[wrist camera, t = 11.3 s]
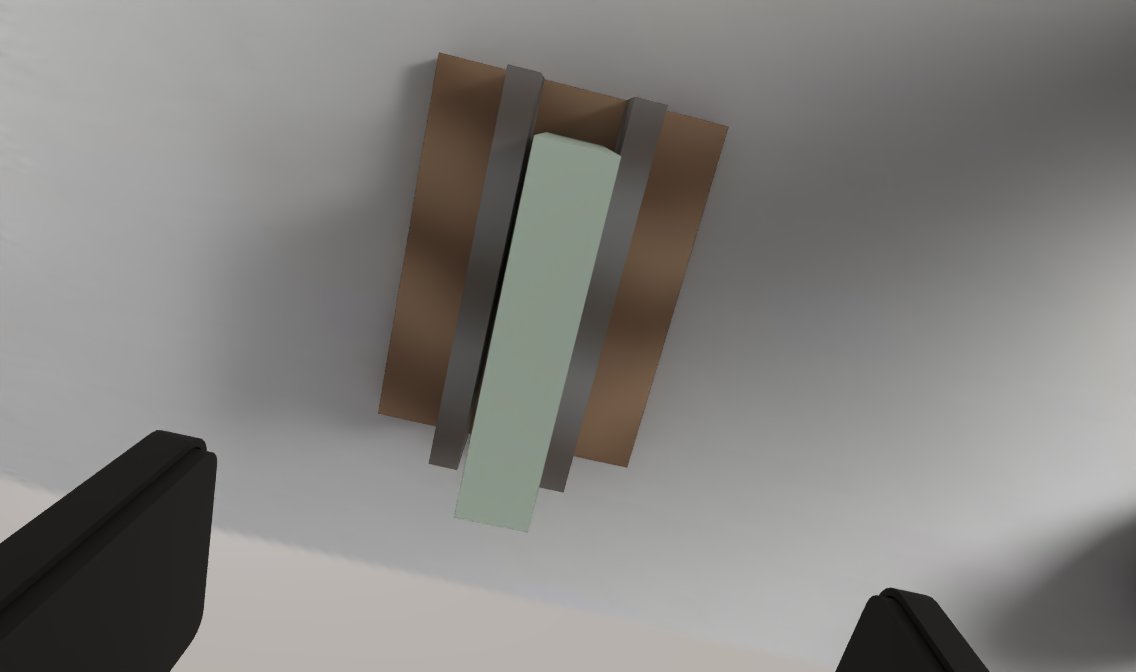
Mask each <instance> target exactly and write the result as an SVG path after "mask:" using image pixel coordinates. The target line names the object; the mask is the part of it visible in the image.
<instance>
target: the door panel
mask: <svg viewBox="0 0 1136 672" xmlns="http://www.w3.org/2000/svg"><path fill="white" fill-rule="evenodd" d="M620 160H621V156H620V155H618V154H616V153H614V152H613V151H611V150H609V149H608V148H606V147H604V146H602V145H598V144H593V143H589V142H585V141H581V140H577V139H573V138H569V137H565V136H561V135H557V134H552V133H548V132H544V133H541V134H537V135H534V138H533V143H532V148H531V152H530V157H529V162H528V167H527V172H526V176H525V181H524V186H523V191H522V196H521V200H520V205H519V210H518V215H517V219H516V224H515V229H514V234H513V239H512V243H511V248H510V253H509V258H508V262H507V267H506V272H505V277H504V282H503V286H502V291H501V296H500V301H499V305H498V310H497V315H496V320H495V325H494V329H493V334H492V339H491V344H490V348H489V353H488V358H487V363H486V368H485V372H484V377H483V382H482V387H481V391H480V396H479V401H478V406H477V411H476V415H475V420H474V425H473V430H472V434H471V439H470V444H469V449H468V454H467V458H466V463H465V468H464V473H463V478H462V482H461V487H460V492H459V497H458V501H457V506H456V511H455V516H454V518H458V519H463V520H468V521H473V522H478V523H483V524H488V525H493V526H498V527H503V528H508V529H513V530H518V531H523V532H528V529H529V525H530V521H531V517H532V513H533V509H534V505H535V501H536V497H537V493H538V489H539V485H540V481H541V477H542V473H543V469H544V465H545V461H546V457H547V453H548V449H549V445H550V441H551V437H552V433H553V429H554V425H555V421H556V417H557V413H558V409H559V405H560V401H561V397H562V393H563V389H564V385H565V380H566V376H567V372H568V368H569V364H570V360H571V356H572V352H573V348H574V344H575V340H576V336H577V332H578V328H579V324H580V320H581V316H582V312H583V308H584V304H585V300H586V296H587V292H588V288H589V284H590V280H591V276H592V272H593V268H594V264H595V260H596V256H597V252H598V248H599V244H600V240H601V236H602V232H603V228H604V224H605V220H606V216H607V212H608V208H609V204H610V200H611V196H612V192H613V188H614V184H615V180H616V176H617V172H618V168H619V164H620Z"/></svg>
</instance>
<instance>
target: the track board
mask: <svg viewBox="0 0 1136 672" xmlns="http://www.w3.org/2000/svg"><path fill="white" fill-rule="evenodd" d="M667 106H668V105H664V104H660V103H656V102H653V101H649V100H645V99H641V98H637V97H634V98H632V99H629V100H623V99H619V98H615V97H611V96H607V95H603V94H599V93H595V92H591V91H588V90H584V89H580V88H576V87H572V86H568V85H564V84H560V83H556V82H552V81H548V80H545V79H544V77H543V75H542V73H540V72H536V71H532V70H528V69H524V68H520V67H516V66H512V65H508V66H507V70H505V69H502V68H498V67H494V66H490V65H486V64H482V63H478V62H474V61H470V60H466V59H463V58H459V57H455V56H451V55H447V54H443V53H439V55H438V61H437V67H436V73H435V79H434V85H433V91H432V97H431V102H430V108H429V114H428V120H427V126H426V132H425V138H424V144H423V150H422V156H421V162H420V168H419V174H418V180H417V186H416V192H415V197H414V203H413V209H412V215H411V221H410V227H409V233H408V239H407V245H406V251H405V257H404V263H403V269H402V275H401V281H400V287H399V293H398V298H397V304H396V310H395V316H394V322H393V328H392V334H391V340H390V346H389V352H388V358H387V364H386V370H385V376H384V382H383V388H382V394H381V399H380V405H379V411H378V414H382V415H387V416H391V417H396V418H401V419H405V420H410V421H415V422H419V423H424V424H428V425H433V426H436V430H435V435H434V440H433V445H432V450H431V455H430V460H429V464H432V465H437V466H441V467H446V468H451V469H455V470H457V468H458V465H459V462H460V459H461V456H462V453H463V450H464V447H465V443H466V440H467V437H468V434H469V433H470V434H472V430H473V425H474V420H475V415H476V411H477V406H478V401H479V396H480V391H481V387H482V382H483V377H484V372H485V368H486V363H487V358H488V353H489V348H490V344H491V339H492V334H493V329H494V325H495V320H496V315H497V310H498V305H499V301H500V296H501V291H502V286H503V282H504V277H505V272H506V267H507V262H508V258H509V253H510V248H511V243H512V239H513V234H514V229H515V224H516V219H517V215H518V210H519V205H520V200H521V196H522V191H523V186H524V181H525V176H526V172H527V167H528V162H529V157H530V152H531V148H532V143H533V138H534V135H537V134H541V133H544V132H548V133H552V134H557V135H561V136H565V137H569V138H573V139H577V140H581V141H585V142H589V143H593V144H598V145H602V146H604V147H606V148H608V149H609V150H611V151H613V152H614V153H616V154H618V155H620V156H621V160H620V164H619V168H618V172H617V176H616V180H615V184H614V188H613V192H612V196H611V200H610V204H609V208H608V212H607V216H606V220H605V224H604V228H603V232H602V236H601V240H600V244H599V248H598V252H597V256H596V260H595V264H594V268H593V272H592V276H591V280H590V284H589V288H588V292H587V296H586V300H585V304H584V308H583V312H582V316H581V320H580V324H579V328H578V332H577V336H576V340H575V344H574V348H573V352H572V356H571V360H570V364H569V368H568V372H567V376H566V380H565V385H564V389H563V393H562V397H561V401H560V405H559V409H558V413H557V417H556V421H555V425H554V429H553V433H552V437H551V441H550V445H549V449H548V453H547V457H546V461H545V465H544V469H543V473H542V477H541V481H540V485H539V487H540V488H545V489H549V490H554V491H559V492H564V488H565V485H566V481H567V477H568V474H569V470H570V466H571V462H572V459H573V456H576V457H581V458H585V459H590V460H594V461H599V462H604V463H608V464H613V465H618V466H622V467H627V466H628V463H629V459H630V456H631V453H632V449H633V446H634V443H635V439H636V436H637V432H638V429H639V426H640V422H641V419H642V416H643V412H644V409H645V406H646V402H647V399H648V396H649V392H650V389H651V385H652V382H653V379H654V375H655V372H656V369H657V365H658V362H659V359H660V355H661V352H662V349H663V345H664V342H665V339H666V335H667V332H668V328H669V325H670V322H671V318H672V315H673V312H674V308H675V305H676V302H677V298H678V295H679V292H680V288H681V285H682V281H683V278H684V275H685V271H686V268H687V265H688V261H689V258H690V255H691V251H692V248H693V245H694V241H695V238H696V234H697V231H698V228H699V224H700V221H701V218H702V214H703V211H704V208H705V204H706V201H707V198H708V194H709V191H710V187H711V184H712V181H713V177H714V174H715V171H716V167H717V164H718V161H719V157H720V154H721V151H722V147H723V144H724V141H725V137H726V134H727V130H728V126H724V125H720V124H716V123H713V122H709V121H705V120H701V119H697V118H693V117H689V116H685V115H681V114H677V113H674V112H670V111H666V110H667Z"/></svg>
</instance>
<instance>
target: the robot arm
mask: <svg viewBox="0 0 1136 672" xmlns="http://www.w3.org/2000/svg"><path fill="white" fill-rule="evenodd" d="M216 470H217V457H216V455H215V454H214V453H213V452H208V451H207V447H206V444H205V442H204V441H203V440H202V439H200V438H195V437H191V436H186V435H181V434H177V433H172V432H167V431H163V430H156V431H154V432H152V433H151V434H149V435H148V436H146V437H145V438H144V439H142V440H141V441H140V442H138V443H137V444H136V445H134V446H133V447H131V448H130V449H129V450H127V451H126V452H125V453H123V454H122V455H120V456H119V457H118V458H116V459H115V460H114V461H112V462H111V463H110V464H108V465H107V466H105V467H104V468H103V469H101V470H100V471H99V472H97V473H96V474H94V475H93V476H92V477H90V478H89V479H88V480H86V481H85V482H84V483H82V484H81V485H79V486H78V487H77V488H75V489H74V490H73V491H71V492H70V493H68V494H67V495H66V496H64V497H63V498H62V499H60V500H59V501H58V502H56V503H55V504H53V505H52V506H51V507H49V508H48V509H47V510H45V511H44V512H42V513H41V514H40V515H38V516H37V517H36V518H34V519H33V520H32V521H30V522H29V523H28V524H26V525H25V526H23V527H22V528H21V529H19V530H18V531H17V532H15V533H14V534H12V535H11V536H10V537H8V538H7V539H6V540H4V541H3V542H2V543H0V672H170V671H171V669H172V668H173V666H174V665H175V664H176V662H177V661H178V660H179V658H180V657H181V655H182V654H183V653H184V651H185V650H186V649H187V647H188V646H189V645H190V643H191V642H192V640H193V639H194V637H195V635H196V633H197V631H198V628H199V626H200V623H201V620H202V616H203V610H204V599H205V587H206V578H207V567H208V555H209V545H210V535H211V524H212V513H213V502H214V491H215V481H216ZM835 672H989V670H988V669H987V668H986V667H985V665H984V664H983V663H982V661H981V660H980V659H979V657H978V656H977V655H976V653H975V652H974V651H973V649H972V648H971V647H970V645H969V644H968V643H967V642H966V640H965V639H964V638H963V636H962V635H961V634H960V632H959V631H958V630H957V628H956V627H955V626H954V624H953V623H952V622H951V620H950V619H949V618H948V617H947V615H946V614H945V613H944V611H943V610H942V609H941V607H940V606H939V605H938V603H937V602H936V601H935V600H934V599H933V598H932V597H929V596H927V595H923V594H918V593H913V592H909V591H904V590H899V589H895V588H887V589H885V590H883V591H882V592H881V593H880V595H879V596H878V595H875V596H872V597H871V598H870V599H869V600H868V602H867V603H866V606H865V608H864V610H863V612H862V614H861V617H860V619H859V621H858V623H857V625H856V628H855V630H854V632H853V634H852V636H851V639H850V641H849V643H848V645H847V647H846V650H845V652H844V654H843V656H842V658H841V660H840V663H839V665H838V667H837V669H836V671H835Z"/></svg>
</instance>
